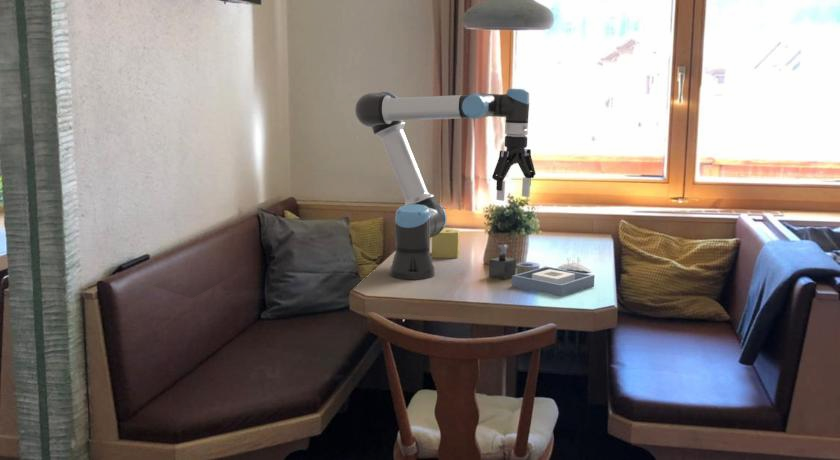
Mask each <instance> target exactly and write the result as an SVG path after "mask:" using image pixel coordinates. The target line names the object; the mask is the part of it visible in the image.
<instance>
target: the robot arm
mask: <svg viewBox="0 0 840 460" xmlns="http://www.w3.org/2000/svg"><path fill="white" fill-rule="evenodd" d="M530 105H531V104H530V91H529V90H528V89H526V88H507V90H506V93H505V94H504V93H503V94H497V93H483V92H482V93H481V92H480V93H473V94H460V95H459V94H458V95H456V94H454V95H437V96H413V97H410V96H409V97H407V96H406V97H398V96H397V95H395V94H394V93H390V92H386V91H381V92H369V93H366V94H363V95H362V96H361V97H359V99H358V100H357V102H356V103H355V109H354V110H355V111H354V113H355V116H356V119H357V120H358V121H359V122H360V123H361V125H364V126H365V127H370V128H371V129H372V132H373V134H374V136H375V137H377V138H379V139H380V140H381V142H382V145H383V148H384V151H385V153H386V155H387V159H388V160H389V162H390V166H391V168H392V171H393V173H394V176H395V177H396V180H397V183H398V185H399V189H400V191H401V192H402V195H403V197H404V200H405V202H404V205H402V206H399V207H398V208H397V209H396V211H395V217H394V222H395V223H394V224H395V229H394V230H395V231H394V232H395V235H394V236H395V253H394V256H393V260H392V263H391V266H390V276H391V277H394V278H397V279H403V280H423V279H428V278H432V277H434V276H435V274H436V273H435V266H434V265H433V260H432V255H431V253H430V251H431V249H430V246H431V245H430V244H431V243H430V241H431V240H430V238H431V239H432V237H433V236H436V235H438V234H439V233H440V232H441V231H442V230H443V229H444V228H446V224H447V218H448V217H447V213H446V210H445V209H444V207H443V206H441V205H440V204H439V203H438V202H437V199H436V196H435V195H434V194H432V193H430V192H429V191H428V189H427V187H426V183H425V181H424V178H423V175H422V173H421V171H420V168H419V166H418V163H417V161H416V159H415V156H414V154H413V151H412V148H411V145H410V143H409V141H408V138H407V136H406V133H405V131H404V128H405V125H406V122H405V121H423V120H424V121H427V120H451V119H455V120H457V119H473V120H475V119H476V120H477V119H481V118H487V117H494V118H495V117H499V118H505V126H504V127H505V128H504V134H505V136H504V147H505V148H506V150H500V151H499V157H498V159H497V163H496V165H495V168H494V169H493V174H492V177H491V178H492V179H493V180H494V181H496V185H495V186H496V189H495V190H496V200H497V201H505V193H506V180H505V178H506V176H507V175H508V173H509V171H510V169H511V167H512V166H513V165H514V164H515V165H516V164H517V165H518V166H519V168H520V170H521V173H522V174H523V176H524V177H522V189H521V197H525V198H530V194H531V193H530V192H531V191H530V190H531V185H532V183H531V182H532V180H531V179H534V178H535V175H536V170H535V167H534V162H533V158H532V149H529V148H527V147H528V137H527V135H528V133H529V132H528V130H529V128H528V127H529V115H530V114H529V111H530Z"/></svg>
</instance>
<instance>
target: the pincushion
mask: <svg viewBox="0 0 840 460" xmlns="http://www.w3.org/2000/svg"><path fill="white" fill-rule="evenodd" d="M573 256H574V257H575V255H573ZM557 269H563V270H569V269H570V270H571V271H574V270H575V271H583V272H592V270H591V269H590V268H588V267H587V266H585V265H583V264H581V263H580V258H579V256H578V257H577V262H574V261H572V262H571V261H570V259H567V262H565V263H563V264H560V265H559V266H558V267H557Z"/></svg>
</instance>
